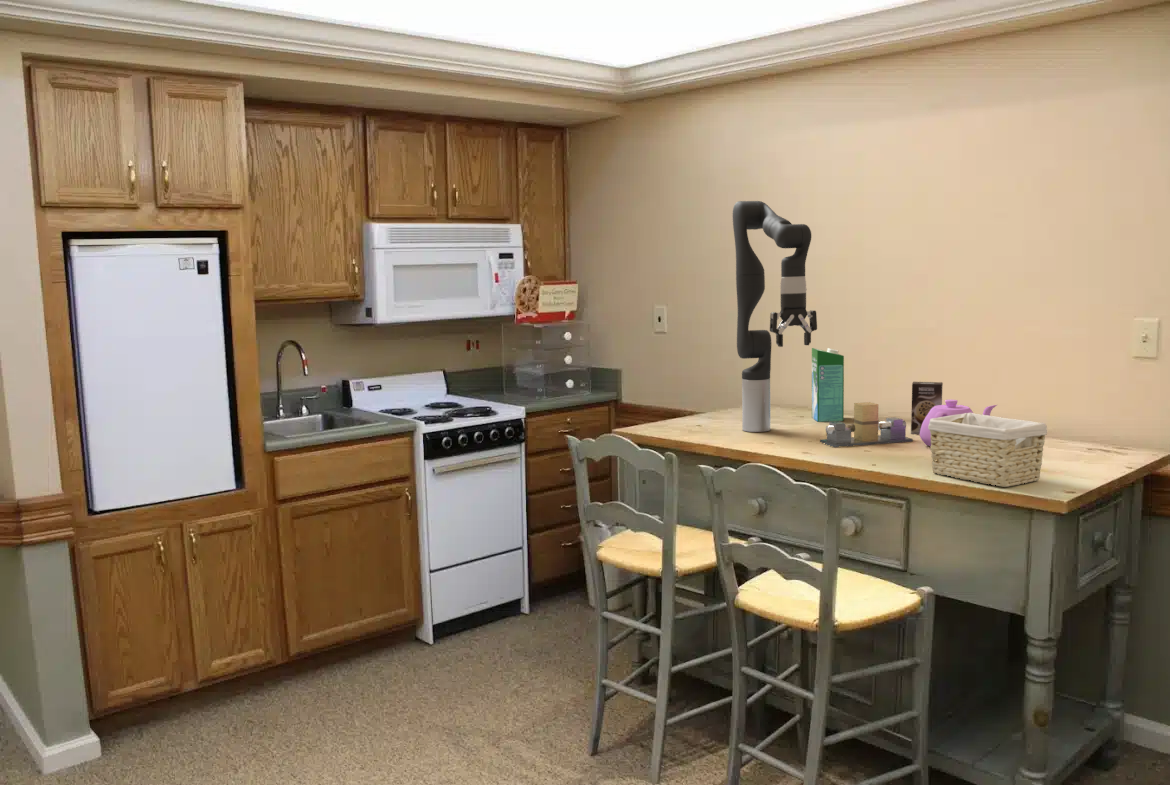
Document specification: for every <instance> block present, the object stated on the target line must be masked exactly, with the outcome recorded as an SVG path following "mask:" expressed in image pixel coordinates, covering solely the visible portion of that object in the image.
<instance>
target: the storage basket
mask: <svg viewBox="0 0 1170 785" xmlns="http://www.w3.org/2000/svg"><path fill="white" fill-rule="evenodd" d="M928 429H929V430H930V433H931V446H930V451H931V452H930V453H931V454H930V455H931V460H932V461H931V466H932V473H934V474H935V473H937V474H936V475H939V474H941V475H947V476H946V477H948V476H951V477H950V478H953V477H955V478H954V479H957V478H960V479H959V480H964V481H969V480H971V481H970V482H972V481H974V482H973V483H977V482H980V483H979V484H985V485H987V484H988V485H989V484H991V485H992V486H995V485H996V487H1001V488H1002V487H1004V488H1008V487H1014V486H1019V485H1025V484H1027V483H1033V482H1035V481H1036V482H1037V481H1039V479H1040V477H1041V469H1042V464H1043V457H1044V456H1043V454H1044V452H1043V451H1044V446H1045V442H1046V441H1045V439H1046V435H1047V434H1048V428H1047V424H1046V423H1045V422H1037V421H1031V420H1023V419H1015V418H1007V417H1000V416H994V415H990V416H988V415H983V413H982V414H980V413H974V412H973V413H964V414H957V415H951V416H944V417H939V418H932V419H930V423H929V426H928ZM941 475H940V476H941ZM1024 483H1025V484H1024ZM991 485H990V486H991Z"/></svg>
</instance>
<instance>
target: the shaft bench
mask: <svg viewBox="0 0 1170 785" xmlns="http://www.w3.org/2000/svg"><path fill="white" fill-rule="evenodd" d="M906 427H907V422H906V420H904V419H902V418H900V417H896V416H894V417H886V419H885V421H879V424H878V431H880V434H878V440H875V441H860V440H857V439H854V436H853V437H852V433H854V431H855V425H854V423H849V424H846V423H845V422H844V421H830V422H829V425H826V426H825V433H826V438H825V439H820V440H819V443H820V442H822V443H821V444H823V443H825V444H824V445H826V444H827V445H826V446H828V445H830V446H829V447H831V446H833V447H834V448H840V447H839V446H847V447H854V446H853V445H860V446H871V445H872V446H873V445H884V444H897V443H909V442H910V443H911V442H913V440H914V439H913V438H911V437H907V436H906V431H907V430H906ZM833 447H832V448H833Z"/></svg>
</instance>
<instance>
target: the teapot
mask: <svg viewBox="0 0 1170 785" xmlns="http://www.w3.org/2000/svg"><path fill="white" fill-rule="evenodd" d="M944 402H945V404H942V405H937V406H934V407H933V408H932V409H931V410H930V411H929V413H928V414H927V416H926V417H925V419H924V421H923V423H922V426H921V429H920V434H919V437H920V439H921V440H922V442H923V443H924V444H925V445H926V446H928V447H931V433H930V430H929V429H928V426H929V423H930V419H932V418H939V417H944V416H951V415H957V414H964V413H974V412H973V410H972V409H971V407H969V406H967V405H963V404H958V399H945V400H944ZM997 406H998V404H994V405H993V404H992V405H989V406H986V407H985V408H984V409H983V412H982V415H988V416H991V413H992V411H993V409H995V407H997Z"/></svg>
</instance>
